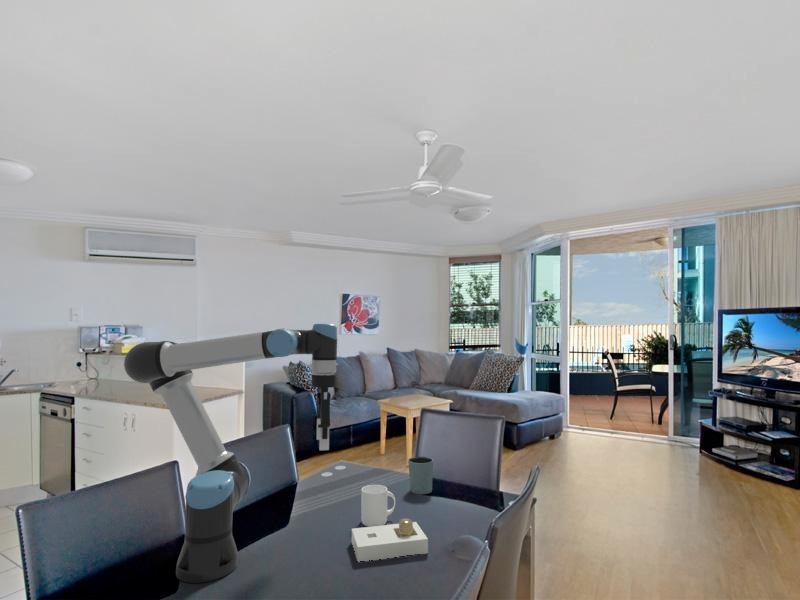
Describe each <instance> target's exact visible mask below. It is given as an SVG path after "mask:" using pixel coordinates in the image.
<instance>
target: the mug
mask: <svg viewBox="0 0 800 600" xmlns="http://www.w3.org/2000/svg"><path fill="white" fill-rule="evenodd" d="M360 493H361V498H360V499H361V506H360V509H361V511H360V512H361V513H360V517H361V519H360V520H361V523H362V525H363V526H365V527H372V526H381V525H387V524H386V523H387V522H388V516H390V515H391V514H393V512H394V510H395V507H396V496H395V495H394V494H393V493H392V492H391V491H389V490H388V488H387V486H385V485H382V484H369V485H365V486H363V487H362V488H361V492H360ZM388 497H391V498H392V499H393V503H394V504H393V506H392V508H391V509H390V508H389V509H388Z"/></svg>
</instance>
